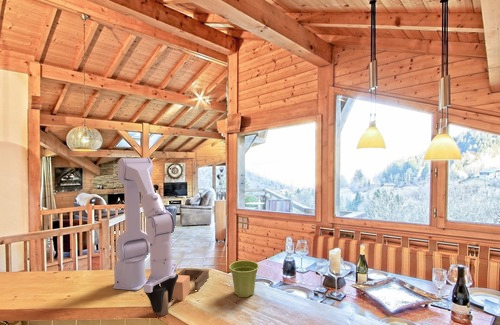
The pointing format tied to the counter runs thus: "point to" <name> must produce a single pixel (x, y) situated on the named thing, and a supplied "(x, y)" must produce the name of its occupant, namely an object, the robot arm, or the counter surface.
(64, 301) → the counter surface
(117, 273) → the robot arm
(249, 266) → the plant pot
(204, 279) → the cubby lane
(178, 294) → the tethered block
